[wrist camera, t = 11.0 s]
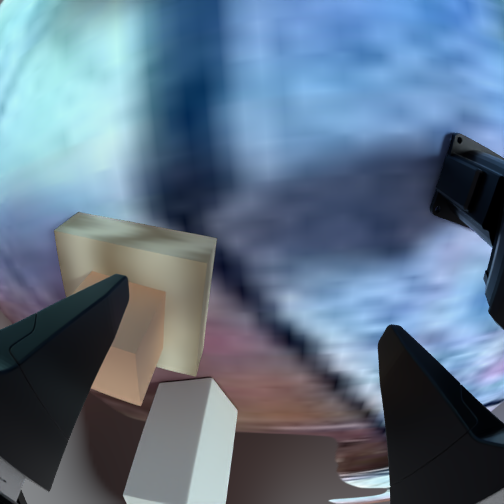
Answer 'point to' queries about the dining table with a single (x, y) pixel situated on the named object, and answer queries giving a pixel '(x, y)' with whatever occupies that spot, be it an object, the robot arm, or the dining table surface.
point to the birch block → (146, 274)
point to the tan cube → (132, 343)
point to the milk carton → (184, 446)
